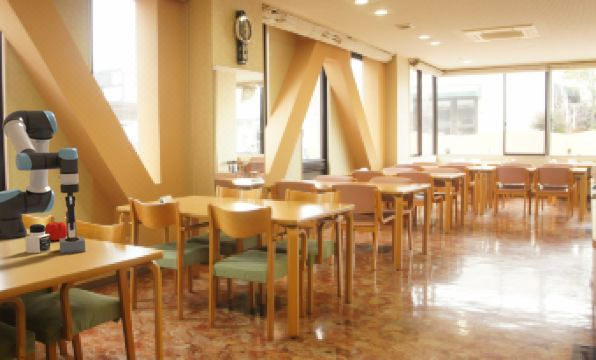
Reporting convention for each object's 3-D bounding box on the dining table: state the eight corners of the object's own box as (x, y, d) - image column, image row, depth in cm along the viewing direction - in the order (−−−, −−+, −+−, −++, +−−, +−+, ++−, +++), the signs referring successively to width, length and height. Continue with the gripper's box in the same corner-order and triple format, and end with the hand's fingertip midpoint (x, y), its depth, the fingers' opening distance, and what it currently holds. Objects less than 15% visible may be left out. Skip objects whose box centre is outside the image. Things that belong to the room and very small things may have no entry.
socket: (59, 249, 245) (59, 238, 244) (83, 247, 249) (83, 236, 248) (60, 254, 236) (59, 242, 235) (85, 251, 240) (84, 240, 239)
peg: (67, 242, 243) (65, 211, 242) (76, 242, 245) (75, 210, 243) (67, 244, 239) (66, 212, 238) (77, 243, 241) (75, 212, 240)
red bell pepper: (50, 238, 272) (49, 220, 272) (72, 238, 272) (71, 220, 271) (39, 242, 262) (39, 224, 261) (62, 242, 261) (61, 224, 261)
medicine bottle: (40, 253, 237) (39, 225, 236) (25, 252, 239) (24, 225, 238) (50, 250, 244) (49, 223, 243) (36, 249, 246) (35, 222, 245)
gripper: (59, 182, 246) (62, 234, 248) (60, 185, 230) (63, 240, 232) (77, 181, 249) (79, 232, 251) (79, 184, 234) (82, 238, 235)
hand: (71, 236), depth 242 cm, fingers closed on peg, 4 cm apart
